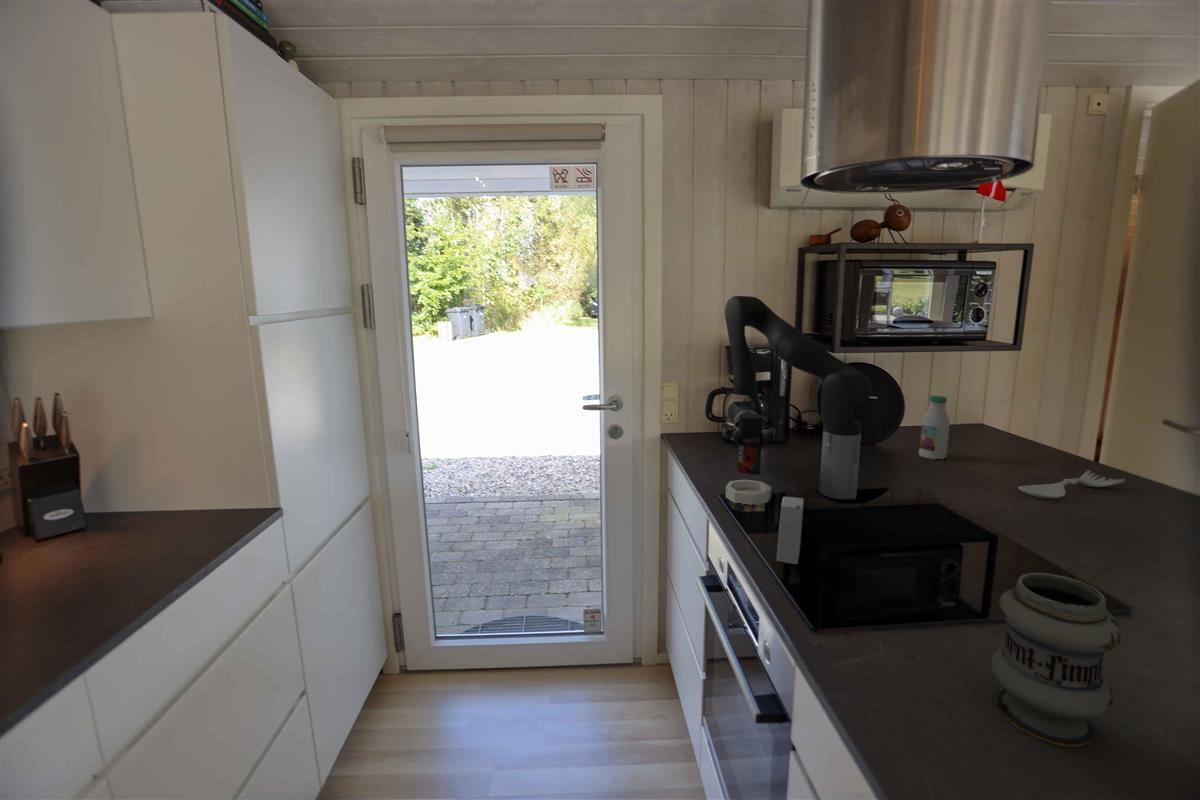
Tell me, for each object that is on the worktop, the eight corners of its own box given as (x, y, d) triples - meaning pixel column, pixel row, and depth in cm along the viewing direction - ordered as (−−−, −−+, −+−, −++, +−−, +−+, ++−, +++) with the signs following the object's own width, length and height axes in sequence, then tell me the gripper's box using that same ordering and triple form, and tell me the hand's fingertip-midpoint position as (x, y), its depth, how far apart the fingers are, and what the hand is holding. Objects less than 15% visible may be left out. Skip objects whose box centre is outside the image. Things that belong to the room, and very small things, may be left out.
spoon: (1124, 490, 154) (1127, 477, 153) (1044, 505, 143) (1046, 492, 143) (1087, 479, 162) (1089, 468, 161) (1008, 494, 152) (1010, 481, 151)
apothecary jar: (967, 682, 79) (982, 563, 75) (1059, 687, 78) (1078, 566, 74) (1022, 751, 67) (1043, 613, 64) (1132, 758, 66) (1159, 617, 62)
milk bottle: (938, 453, 188) (945, 394, 185) (950, 460, 181) (957, 399, 177) (914, 453, 189) (920, 394, 185) (925, 460, 182) (931, 398, 178)
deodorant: (764, 471, 149) (767, 415, 146) (753, 476, 145) (756, 419, 142) (744, 466, 153) (746, 412, 150) (732, 471, 149) (735, 416, 146)
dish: (773, 494, 152) (773, 483, 152) (765, 507, 143) (765, 496, 142) (732, 488, 157) (733, 477, 157) (722, 501, 148) (722, 490, 147)
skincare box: (778, 549, 120) (781, 495, 118) (800, 552, 118) (804, 497, 116) (775, 562, 114) (778, 505, 112) (799, 565, 113) (802, 508, 110)
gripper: (722, 411, 162) (722, 425, 145) (774, 413, 159) (780, 427, 143) (721, 436, 163) (721, 453, 147) (773, 438, 160) (779, 456, 144)
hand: (750, 440), depth 145 cm, fingers closed on deodorant, 6 cm apart
